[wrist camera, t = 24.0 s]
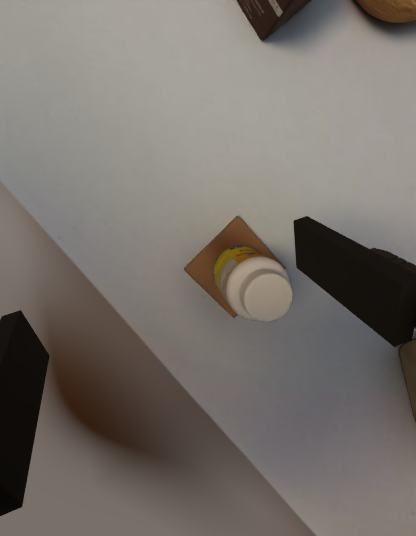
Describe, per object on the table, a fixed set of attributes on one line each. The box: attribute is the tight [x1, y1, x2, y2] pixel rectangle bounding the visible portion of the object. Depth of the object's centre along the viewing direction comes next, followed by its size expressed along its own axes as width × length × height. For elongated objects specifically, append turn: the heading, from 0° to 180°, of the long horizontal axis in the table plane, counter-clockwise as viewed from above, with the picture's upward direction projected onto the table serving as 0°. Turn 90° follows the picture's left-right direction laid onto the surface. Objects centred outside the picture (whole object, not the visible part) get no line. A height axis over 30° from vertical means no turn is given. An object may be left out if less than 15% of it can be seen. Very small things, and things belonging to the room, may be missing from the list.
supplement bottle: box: [212, 245, 293, 322], centre depth 29 cm, size 6×6×10 cm
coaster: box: [184, 216, 286, 318], centre depth 35 cm, size 8×8×1 cm
